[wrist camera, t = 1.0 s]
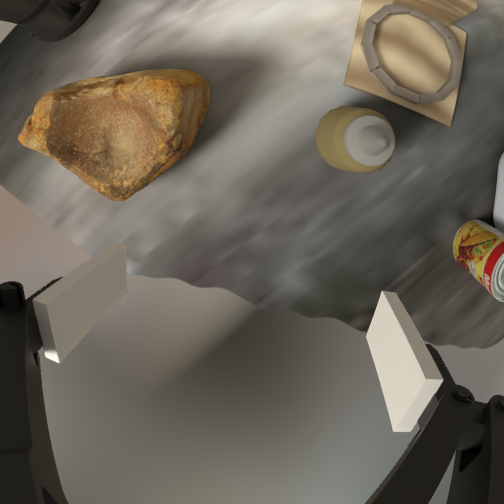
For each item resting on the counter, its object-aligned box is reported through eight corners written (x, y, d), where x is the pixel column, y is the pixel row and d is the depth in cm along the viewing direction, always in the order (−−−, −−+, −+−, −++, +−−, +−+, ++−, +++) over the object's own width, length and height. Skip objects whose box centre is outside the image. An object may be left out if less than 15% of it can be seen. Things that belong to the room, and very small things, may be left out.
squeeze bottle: (377, 117, 37) (436, 109, 20) (366, 174, 40) (416, 203, 23) (318, 102, 37) (341, 79, 21) (307, 161, 40) (322, 180, 24)
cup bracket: (447, 126, 36) (489, 128, 26) (343, 85, 36) (362, 69, 26) (463, 34, 30) (502, 16, 20) (364, -11, 30) (384, -45, 20)
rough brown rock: (80, 191, 46) (22, 225, 33) (70, 91, 39) (5, 97, 25) (218, 185, 44) (192, 223, 31) (215, 68, 37) (185, 51, 24)
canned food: (445, 260, 43) (482, 297, 32) (462, 213, 40) (506, 239, 29) (480, 270, 43) (518, 305, 31) (496, 226, 40) (540, 253, 29)
